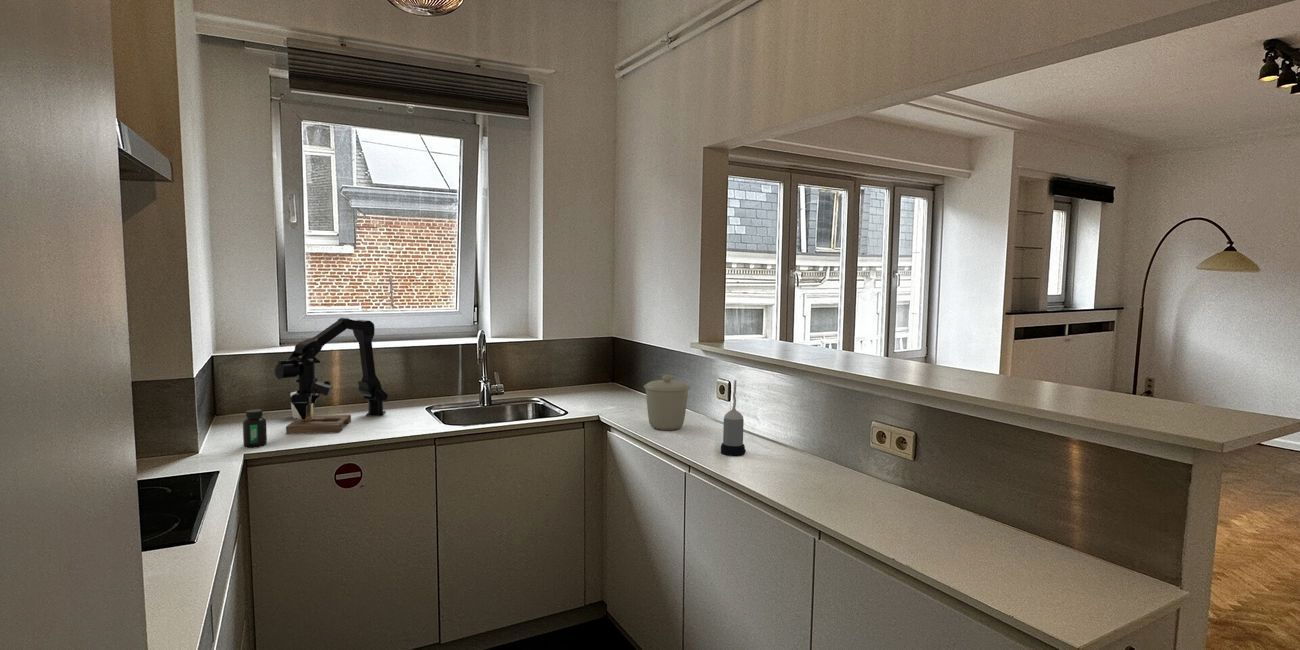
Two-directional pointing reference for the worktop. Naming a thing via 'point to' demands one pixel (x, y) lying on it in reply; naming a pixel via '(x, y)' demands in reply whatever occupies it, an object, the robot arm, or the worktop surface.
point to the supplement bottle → (254, 429)
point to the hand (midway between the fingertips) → (307, 416)
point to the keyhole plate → (319, 424)
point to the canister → (666, 403)
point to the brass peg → (309, 413)
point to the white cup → (294, 410)
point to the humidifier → (733, 431)
